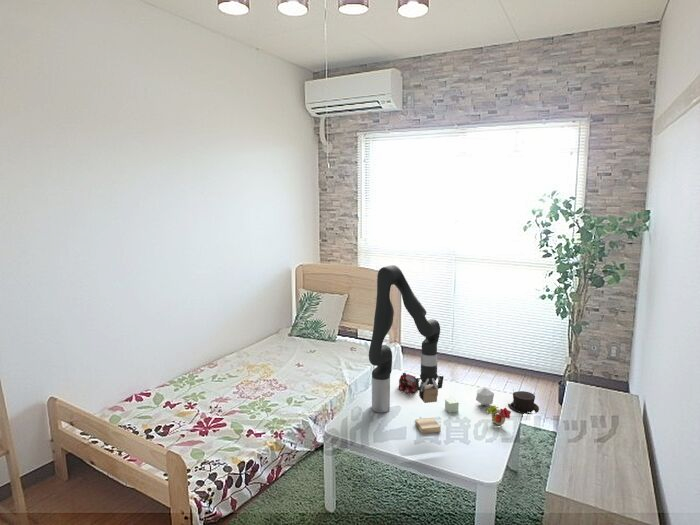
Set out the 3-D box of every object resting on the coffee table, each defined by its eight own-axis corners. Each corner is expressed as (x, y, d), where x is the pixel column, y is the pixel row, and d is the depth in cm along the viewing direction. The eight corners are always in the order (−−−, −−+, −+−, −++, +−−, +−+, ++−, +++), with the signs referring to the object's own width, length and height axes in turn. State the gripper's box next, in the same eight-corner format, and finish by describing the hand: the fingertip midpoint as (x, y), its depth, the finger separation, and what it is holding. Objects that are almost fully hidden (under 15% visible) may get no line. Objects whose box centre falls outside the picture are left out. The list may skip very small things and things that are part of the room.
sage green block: (444, 408, 234) (445, 399, 233) (453, 407, 235) (454, 398, 234) (449, 413, 229) (449, 403, 228) (458, 412, 230) (458, 402, 230)
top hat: (523, 399, 245) (524, 381, 243) (545, 411, 231) (546, 391, 230) (501, 404, 239) (502, 385, 237) (522, 417, 225) (523, 396, 224)
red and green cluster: (491, 418, 223) (492, 400, 222) (513, 426, 215) (514, 407, 214) (485, 422, 219) (485, 404, 218) (506, 430, 211) (507, 412, 210)
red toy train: (404, 386, 262) (404, 369, 261) (420, 393, 253) (420, 375, 251) (395, 389, 258) (395, 372, 257) (411, 396, 248) (411, 378, 247)
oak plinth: (415, 424, 217) (415, 419, 217) (432, 422, 219) (433, 417, 219) (422, 433, 208) (422, 428, 208) (440, 431, 210) (440, 426, 210)
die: (496, 407, 235) (497, 389, 233) (482, 410, 232) (483, 391, 230) (486, 401, 243) (487, 383, 241) (472, 403, 239) (473, 385, 238)
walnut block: (419, 397, 214) (420, 385, 213) (431, 396, 215) (432, 384, 214) (424, 402, 208) (424, 390, 207) (436, 401, 209) (437, 389, 209)
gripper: (440, 359, 215) (439, 393, 217) (411, 361, 212) (410, 395, 214) (447, 364, 207) (446, 399, 209) (417, 366, 204) (416, 402, 206)
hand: (428, 397), depth 212 cm, fingers closed on walnut block, 6 cm apart
